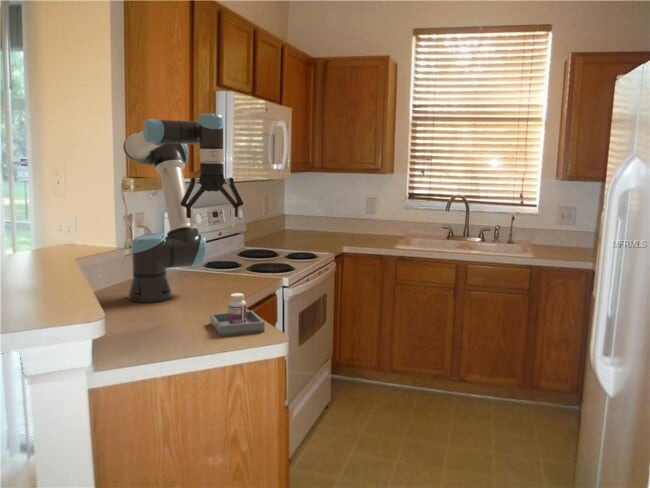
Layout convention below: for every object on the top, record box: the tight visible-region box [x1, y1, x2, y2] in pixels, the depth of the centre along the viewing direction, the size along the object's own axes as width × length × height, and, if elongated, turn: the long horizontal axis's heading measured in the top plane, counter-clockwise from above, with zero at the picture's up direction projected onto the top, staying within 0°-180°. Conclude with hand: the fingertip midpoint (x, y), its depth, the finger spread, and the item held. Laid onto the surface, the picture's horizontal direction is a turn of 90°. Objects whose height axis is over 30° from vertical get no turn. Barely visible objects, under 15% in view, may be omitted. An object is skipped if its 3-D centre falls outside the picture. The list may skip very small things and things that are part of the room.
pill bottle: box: [227, 292, 247, 325], centre depth 172 cm, size 5×5×10 cm
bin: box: [209, 310, 265, 337], centre depth 173 cm, size 14×14×3 cm
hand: (212, 227), depth 186 cm, fingers open, 13 cm apart
